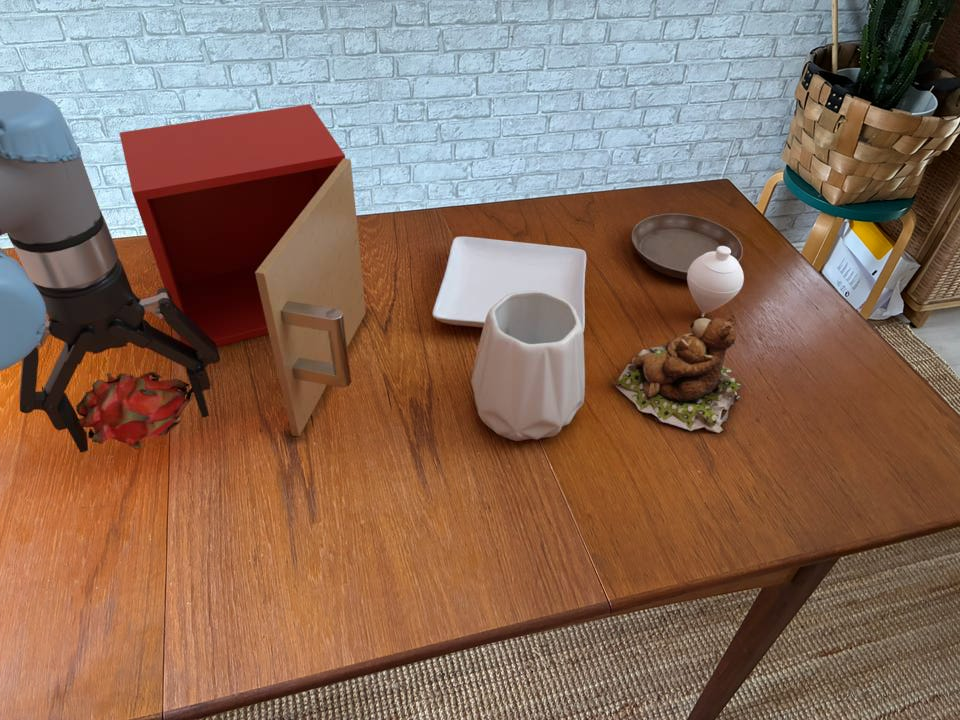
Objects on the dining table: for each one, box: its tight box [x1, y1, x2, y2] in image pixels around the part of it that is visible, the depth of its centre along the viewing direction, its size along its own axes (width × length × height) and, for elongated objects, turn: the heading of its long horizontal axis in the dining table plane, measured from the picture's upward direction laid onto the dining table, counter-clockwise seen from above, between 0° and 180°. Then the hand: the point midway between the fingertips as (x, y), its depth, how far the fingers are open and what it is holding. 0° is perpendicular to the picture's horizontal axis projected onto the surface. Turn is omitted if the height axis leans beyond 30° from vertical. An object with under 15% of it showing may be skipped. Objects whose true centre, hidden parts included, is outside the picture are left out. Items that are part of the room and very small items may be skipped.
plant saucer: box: [631, 213, 744, 281], centre depth 115 cm, size 18×18×3 cm
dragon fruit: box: [75, 371, 194, 450], centre depth 77 cm, size 8×8×12 cm
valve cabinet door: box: [255, 158, 367, 438], centre depth 85 cm, size 7×24×24 cm, turn 168°
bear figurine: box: [613, 314, 742, 434], centre depth 89 cm, size 14×15×12 cm
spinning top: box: [686, 246, 745, 318], centre depth 100 cm, size 8×8×12 cm
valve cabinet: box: [118, 103, 346, 348], centre depth 96 cm, size 16×24×24 cm, turn 115°
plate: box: [431, 236, 587, 333], centre depth 105 cm, size 21×21×3 cm
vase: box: [470, 291, 586, 442], centre depth 84 cm, size 14×14×15 cm
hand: (145, 425), depth 79 cm, fingers closed on dragon fruit, 12 cm apart
